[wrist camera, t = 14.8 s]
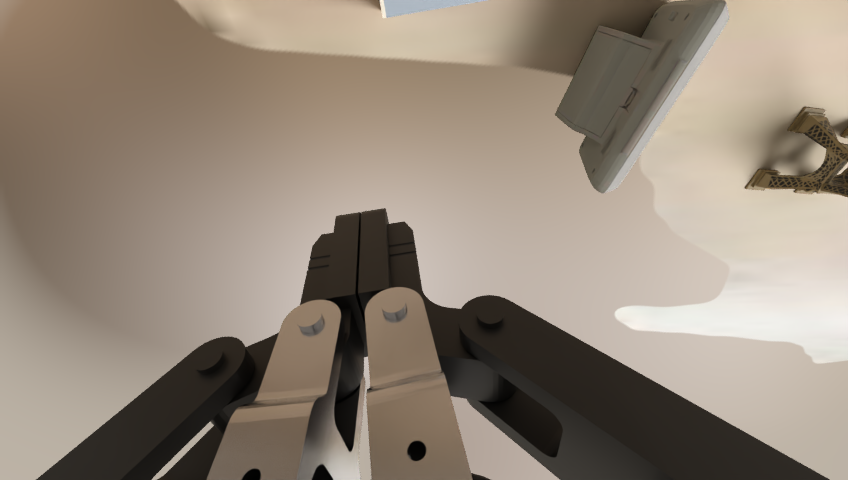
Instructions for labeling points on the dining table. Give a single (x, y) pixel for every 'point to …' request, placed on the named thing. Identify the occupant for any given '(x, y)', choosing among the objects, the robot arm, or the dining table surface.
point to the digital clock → (636, 84)
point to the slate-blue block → (416, 6)
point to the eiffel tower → (826, 175)
